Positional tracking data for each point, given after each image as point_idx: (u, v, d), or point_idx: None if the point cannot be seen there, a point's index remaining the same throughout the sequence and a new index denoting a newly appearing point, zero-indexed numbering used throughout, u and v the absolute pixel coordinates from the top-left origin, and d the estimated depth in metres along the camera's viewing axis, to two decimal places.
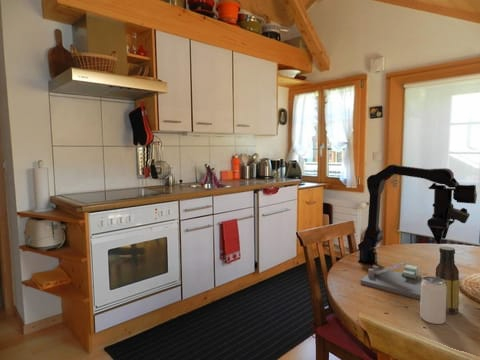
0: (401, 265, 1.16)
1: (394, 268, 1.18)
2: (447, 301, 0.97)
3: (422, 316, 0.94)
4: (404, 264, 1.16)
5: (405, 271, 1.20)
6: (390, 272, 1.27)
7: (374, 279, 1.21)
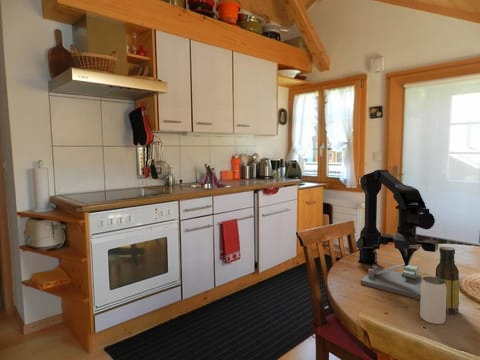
0: (402, 266, 1.16)
1: (394, 269, 1.18)
2: (447, 301, 0.97)
3: (422, 316, 0.94)
4: (405, 265, 1.16)
5: (405, 271, 1.20)
6: (390, 272, 1.27)
7: (374, 279, 1.21)
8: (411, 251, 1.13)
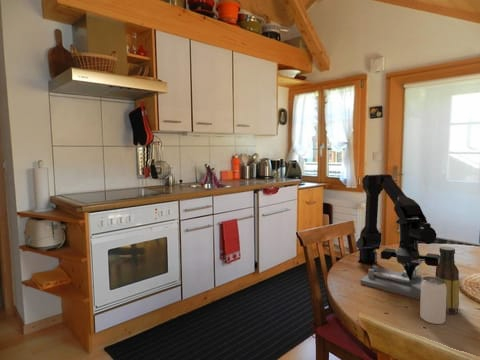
0: (405, 281, 1.15)
1: (397, 280, 1.17)
2: (447, 301, 0.97)
3: (422, 316, 0.94)
4: (409, 281, 1.15)
5: (405, 271, 1.20)
6: (390, 272, 1.27)
7: (374, 279, 1.21)
8: (414, 266, 1.13)
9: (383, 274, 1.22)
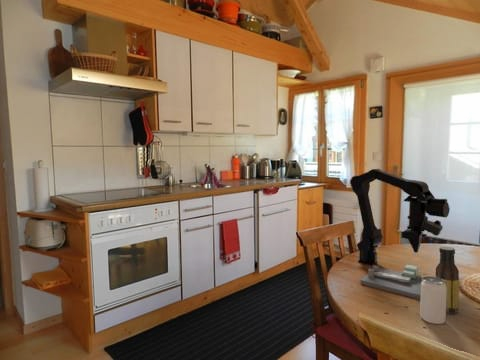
0: (405, 280, 1.15)
1: (397, 279, 1.17)
2: (447, 301, 0.97)
3: (422, 316, 0.94)
4: (409, 281, 1.15)
5: (405, 271, 1.20)
6: (390, 272, 1.27)
7: (374, 279, 1.21)
8: None
9: (383, 274, 1.22)
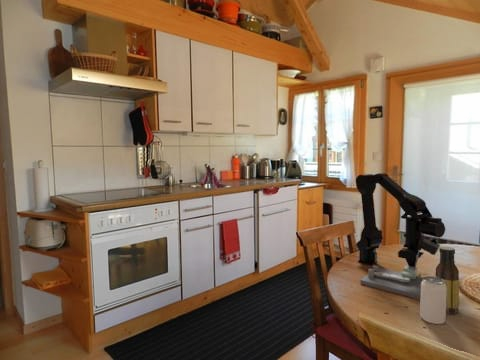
0: (405, 280, 1.15)
1: (397, 279, 1.17)
2: (447, 301, 0.97)
3: (422, 316, 0.94)
4: (409, 281, 1.15)
5: (404, 272, 1.20)
6: (390, 272, 1.27)
7: (374, 279, 1.21)
8: None
9: (383, 274, 1.22)
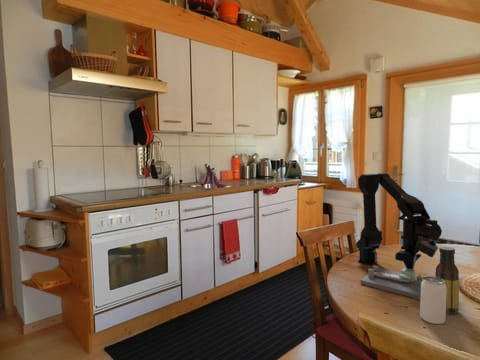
0: (405, 280, 1.15)
1: (397, 279, 1.17)
2: (447, 301, 0.97)
3: (422, 316, 0.94)
4: (409, 281, 1.15)
5: (402, 274, 1.17)
6: (390, 272, 1.27)
7: (374, 279, 1.21)
8: None
9: (383, 274, 1.22)
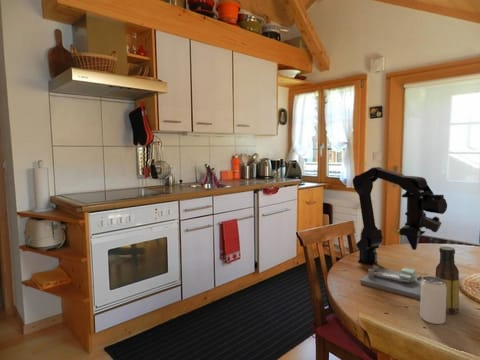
0: (405, 280, 1.15)
1: (397, 279, 1.17)
2: (447, 301, 0.97)
3: (422, 316, 0.94)
4: (409, 281, 1.15)
5: (402, 274, 1.17)
6: (390, 272, 1.27)
7: (374, 279, 1.21)
8: (422, 233, 1.23)
9: (383, 274, 1.22)
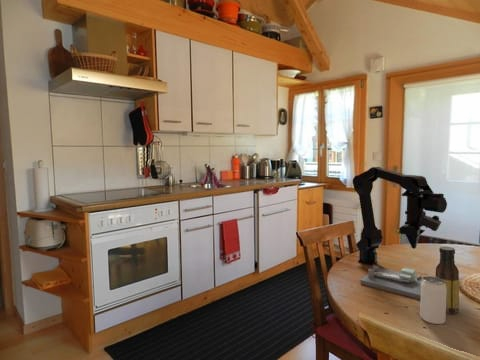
0: (405, 280, 1.15)
1: (397, 279, 1.17)
2: (447, 301, 0.97)
3: (422, 316, 0.94)
4: (409, 281, 1.15)
5: (402, 274, 1.17)
6: (390, 272, 1.27)
7: (374, 279, 1.21)
8: (422, 232, 1.23)
9: (383, 274, 1.22)
